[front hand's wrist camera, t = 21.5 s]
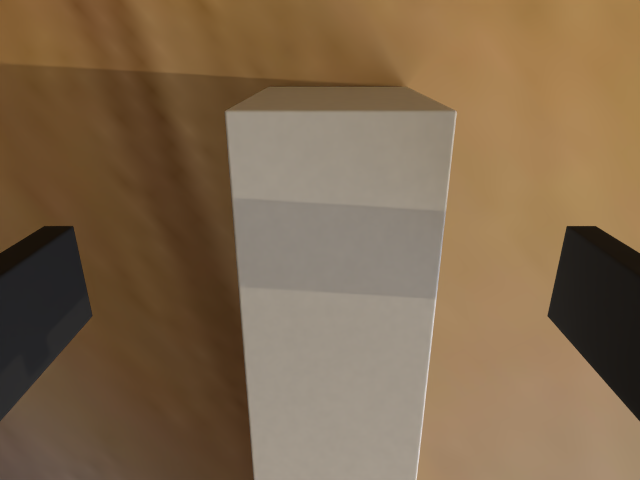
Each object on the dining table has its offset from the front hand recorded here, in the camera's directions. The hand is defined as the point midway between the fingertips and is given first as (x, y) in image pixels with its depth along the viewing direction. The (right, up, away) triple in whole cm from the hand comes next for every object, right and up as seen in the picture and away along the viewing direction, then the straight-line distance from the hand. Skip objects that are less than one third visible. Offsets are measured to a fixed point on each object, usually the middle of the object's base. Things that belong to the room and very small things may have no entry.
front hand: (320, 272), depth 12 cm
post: (+1, -31, +22) cm, 38 cm away
